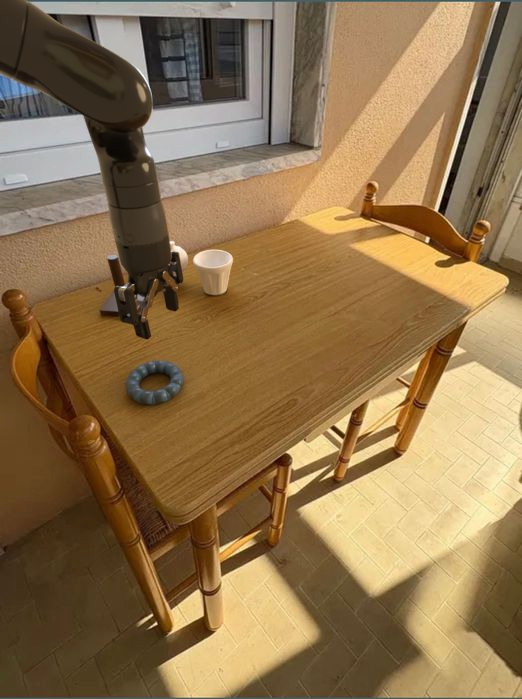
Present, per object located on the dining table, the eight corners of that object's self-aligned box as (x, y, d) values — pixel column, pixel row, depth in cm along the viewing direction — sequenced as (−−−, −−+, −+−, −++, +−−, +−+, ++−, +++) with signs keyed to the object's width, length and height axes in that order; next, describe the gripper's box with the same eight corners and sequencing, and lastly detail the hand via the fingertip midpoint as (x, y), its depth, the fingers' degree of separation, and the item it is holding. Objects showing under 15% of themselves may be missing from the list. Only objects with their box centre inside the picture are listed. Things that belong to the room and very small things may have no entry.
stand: (100, 315, 92) (84, 265, 84) (115, 295, 99) (101, 247, 90) (136, 317, 92) (124, 267, 83) (148, 297, 99) (138, 249, 90)
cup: (190, 296, 99) (186, 264, 93) (205, 277, 106) (202, 247, 100) (226, 303, 97) (224, 270, 91) (239, 283, 104) (238, 252, 98)
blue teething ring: (119, 404, 71) (116, 395, 70) (138, 365, 79) (136, 356, 78) (175, 409, 70) (173, 400, 69) (189, 368, 79) (188, 360, 77)
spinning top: (182, 273, 108) (176, 233, 100) (196, 284, 103) (191, 243, 96) (157, 282, 104) (149, 241, 96) (171, 294, 100) (164, 252, 92)
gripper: (147, 210, 60) (163, 297, 71) (85, 247, 50) (114, 342, 61) (189, 218, 58) (199, 306, 69) (132, 258, 48) (154, 354, 59)
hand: (159, 322), depth 65 cm, fingers open, 8 cm apart
